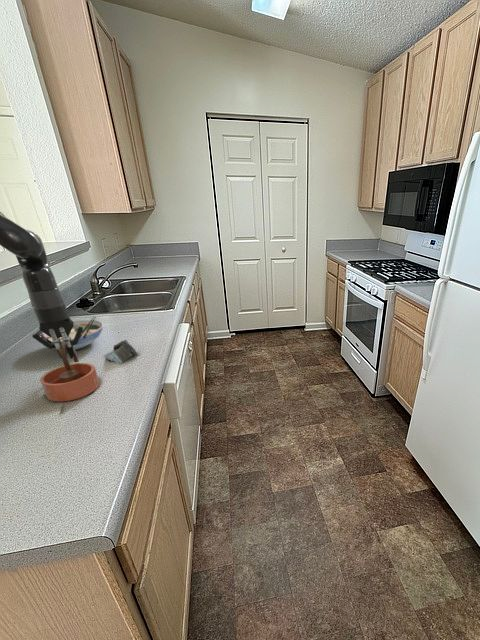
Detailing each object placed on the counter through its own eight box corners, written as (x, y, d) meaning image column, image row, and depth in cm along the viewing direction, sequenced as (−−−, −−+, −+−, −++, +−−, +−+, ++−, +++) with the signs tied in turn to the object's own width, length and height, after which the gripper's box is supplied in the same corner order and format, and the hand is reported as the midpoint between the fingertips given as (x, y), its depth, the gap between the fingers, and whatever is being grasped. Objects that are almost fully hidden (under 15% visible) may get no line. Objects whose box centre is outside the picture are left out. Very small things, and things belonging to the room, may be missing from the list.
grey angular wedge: (98, 360, 120) (101, 345, 111) (113, 347, 125) (117, 332, 116) (120, 376, 122) (125, 363, 113) (134, 363, 126) (139, 350, 117)
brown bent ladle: (80, 383, 98) (69, 353, 94) (61, 387, 97) (49, 357, 92) (85, 359, 113) (75, 332, 109) (68, 362, 111) (58, 334, 107)
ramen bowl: (52, 339, 138) (45, 320, 134) (113, 332, 144) (108, 314, 140) (29, 365, 116) (20, 344, 113) (101, 355, 122) (95, 335, 119)
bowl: (43, 408, 92) (35, 389, 90) (51, 385, 103) (44, 368, 101) (99, 395, 98) (92, 378, 95) (100, 375, 109) (95, 359, 106)
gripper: (77, 297, 101) (94, 349, 108) (22, 304, 95) (44, 358, 103) (75, 304, 95) (93, 358, 102) (16, 311, 89) (40, 368, 97)
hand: (68, 358), depth 103 cm, fingers closed on brown bent ladle, 1 cm apart
